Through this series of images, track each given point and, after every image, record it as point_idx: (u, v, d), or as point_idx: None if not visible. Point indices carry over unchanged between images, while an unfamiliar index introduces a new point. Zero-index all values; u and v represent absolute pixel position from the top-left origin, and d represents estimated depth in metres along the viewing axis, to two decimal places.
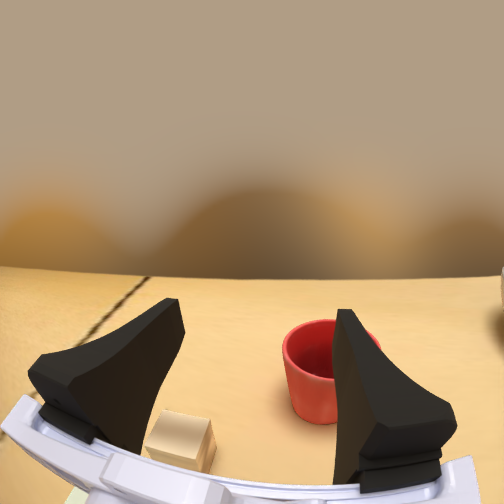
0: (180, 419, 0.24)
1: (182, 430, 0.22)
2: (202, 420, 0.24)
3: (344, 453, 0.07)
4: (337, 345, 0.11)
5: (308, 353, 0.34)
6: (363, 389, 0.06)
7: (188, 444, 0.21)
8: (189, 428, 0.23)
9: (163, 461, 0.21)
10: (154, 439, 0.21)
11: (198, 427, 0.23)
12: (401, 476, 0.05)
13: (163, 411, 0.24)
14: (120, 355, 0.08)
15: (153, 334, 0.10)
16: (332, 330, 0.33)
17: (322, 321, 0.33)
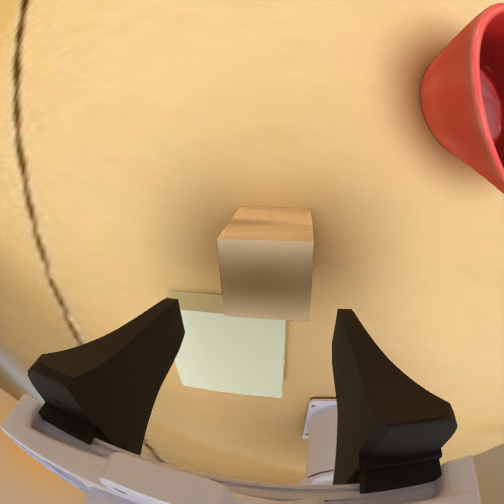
0: (259, 253, 0.15)
1: (271, 276, 0.15)
2: (299, 247, 0.14)
3: (344, 453, 0.07)
4: (337, 345, 0.11)
5: None
6: (363, 389, 0.06)
7: (290, 300, 0.16)
8: (282, 270, 0.15)
9: None
10: (234, 303, 0.17)
11: (297, 264, 0.15)
12: (401, 476, 0.05)
13: (220, 244, 0.15)
14: (120, 355, 0.08)
15: (153, 334, 0.10)
16: None
17: None
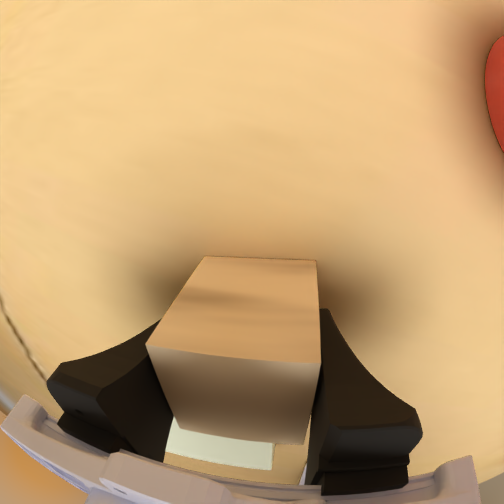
0: (219, 373, 0.08)
1: (243, 401, 0.08)
2: (293, 369, 0.07)
3: (312, 453, 0.07)
4: None
5: None
6: (325, 389, 0.07)
7: (276, 426, 0.09)
8: (261, 395, 0.08)
9: None
10: (190, 419, 0.09)
11: (288, 391, 0.08)
12: (363, 481, 0.05)
13: (152, 352, 0.08)
14: (146, 361, 0.08)
15: None
16: None
17: None
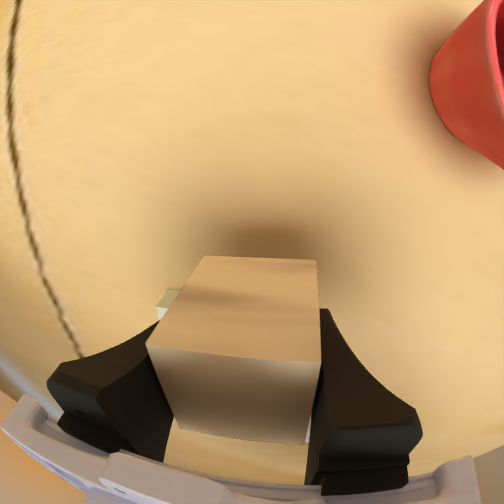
0: (219, 372, 0.08)
1: (243, 400, 0.08)
2: (293, 368, 0.07)
3: (312, 453, 0.07)
4: None
5: None
6: (325, 389, 0.07)
7: (276, 426, 0.09)
8: (262, 395, 0.08)
9: None
10: (190, 419, 0.09)
11: (288, 390, 0.08)
12: (363, 481, 0.05)
13: (152, 351, 0.08)
14: (146, 361, 0.08)
15: None
16: None
17: None
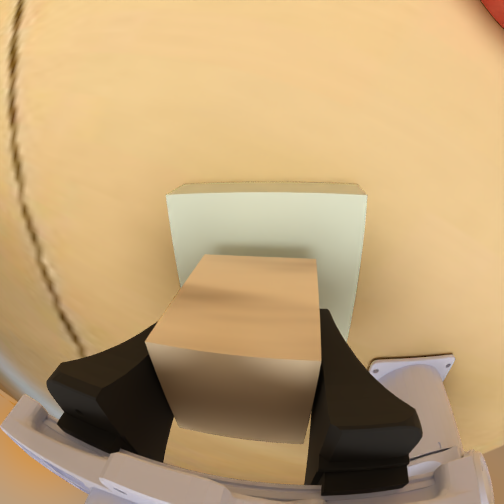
0: (219, 371, 0.08)
1: (243, 399, 0.08)
2: (293, 367, 0.07)
3: (312, 453, 0.07)
4: None
5: None
6: (325, 389, 0.07)
7: (276, 425, 0.09)
8: (261, 394, 0.08)
9: None
10: (189, 418, 0.09)
11: (288, 389, 0.08)
12: (364, 481, 0.05)
13: (152, 350, 0.08)
14: (146, 361, 0.08)
15: None
16: None
17: None
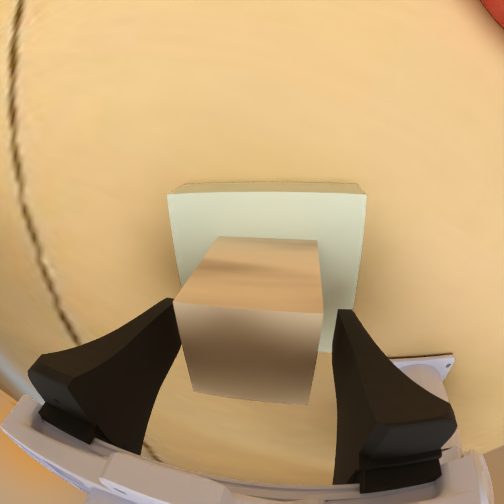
0: (237, 326, 0.09)
1: (256, 355, 0.10)
2: (300, 320, 0.09)
3: (344, 453, 0.07)
4: (337, 345, 0.11)
5: None
6: (363, 389, 0.06)
7: (284, 383, 0.10)
8: (272, 348, 0.10)
9: None
10: (205, 380, 0.11)
11: (296, 343, 0.09)
12: (401, 476, 0.05)
13: (178, 309, 0.10)
14: (120, 355, 0.08)
15: (153, 334, 0.10)
16: None
17: None
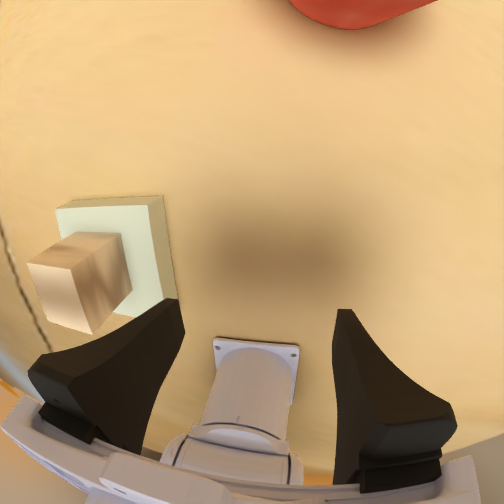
0: (47, 275, 0.15)
1: (58, 293, 0.16)
2: (64, 272, 0.15)
3: (344, 453, 0.07)
4: (337, 345, 0.11)
5: None
6: (363, 389, 0.06)
7: (75, 314, 0.16)
8: (61, 289, 0.15)
9: None
10: (48, 311, 0.17)
11: (67, 286, 0.15)
12: (401, 476, 0.05)
13: (29, 266, 0.15)
14: (120, 355, 0.08)
15: (153, 334, 0.10)
16: None
17: None
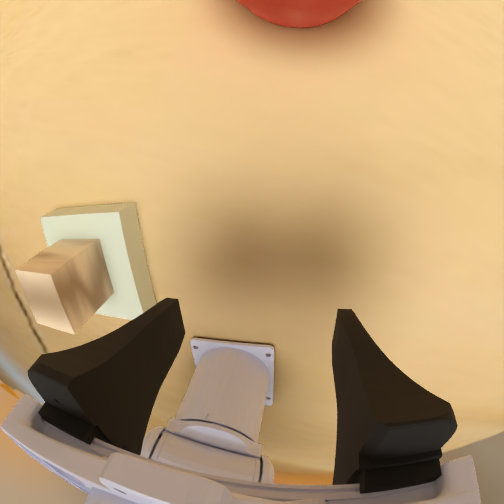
0: (32, 281, 0.16)
1: (43, 297, 0.16)
2: (46, 277, 0.15)
3: (344, 453, 0.07)
4: (337, 345, 0.11)
5: None
6: (363, 389, 0.06)
7: (58, 316, 0.17)
8: (45, 293, 0.16)
9: None
10: (37, 314, 0.18)
11: (50, 290, 0.16)
12: (401, 477, 0.05)
13: (17, 273, 0.16)
14: (120, 355, 0.08)
15: (153, 334, 0.10)
16: None
17: None
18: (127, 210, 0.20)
